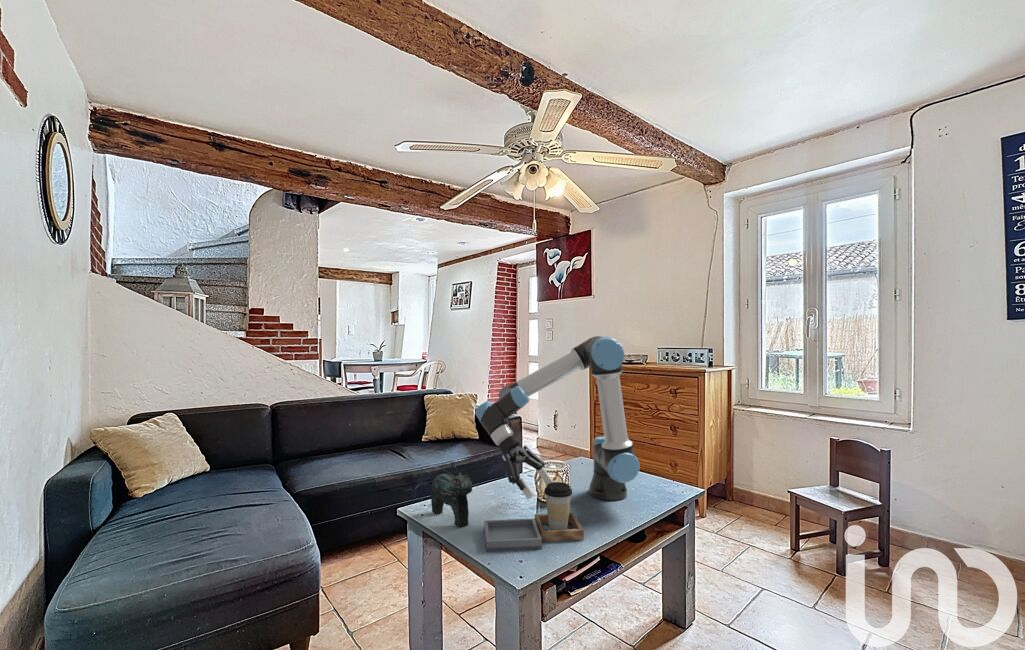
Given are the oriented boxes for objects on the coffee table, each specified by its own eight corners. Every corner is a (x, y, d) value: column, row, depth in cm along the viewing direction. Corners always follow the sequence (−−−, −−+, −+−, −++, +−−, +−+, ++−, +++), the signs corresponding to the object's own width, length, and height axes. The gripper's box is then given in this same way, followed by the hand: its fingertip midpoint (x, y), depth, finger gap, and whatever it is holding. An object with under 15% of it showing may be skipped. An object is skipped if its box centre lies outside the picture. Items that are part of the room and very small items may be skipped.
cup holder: (573, 521, 161) (573, 512, 161) (583, 539, 147) (583, 530, 147) (534, 522, 160) (534, 514, 160) (541, 541, 146) (541, 532, 146)
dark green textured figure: (473, 526, 157) (474, 467, 157) (458, 532, 153) (458, 471, 153) (440, 508, 172) (441, 455, 171) (426, 513, 167) (426, 458, 167)
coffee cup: (549, 539, 148) (550, 492, 148) (540, 526, 157) (540, 482, 157) (577, 535, 150) (577, 489, 150) (565, 523, 159) (565, 480, 159)
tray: (534, 527, 156) (534, 518, 156) (541, 548, 141) (541, 539, 141) (484, 529, 154) (484, 520, 154) (486, 551, 140) (486, 541, 140)
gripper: (518, 439, 176) (552, 486, 168) (478, 454, 156) (514, 509, 147) (530, 427, 173) (565, 474, 165) (490, 441, 153) (528, 496, 144)
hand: (541, 491), depth 156 cm, fingers open, 13 cm apart
